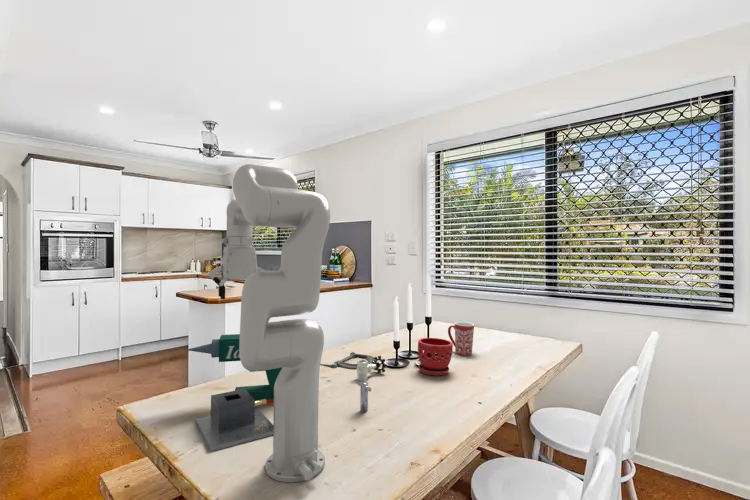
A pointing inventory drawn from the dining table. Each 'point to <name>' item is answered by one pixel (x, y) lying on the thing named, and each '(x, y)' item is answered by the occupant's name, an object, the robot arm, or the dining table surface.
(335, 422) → the dining table surface
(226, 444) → the block
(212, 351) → the power tool
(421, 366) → the plant pot
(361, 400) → the chuck key
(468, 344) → the mug
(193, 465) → the dining table surface
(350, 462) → the dining table surface
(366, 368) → the valve
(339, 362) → the c clamp
